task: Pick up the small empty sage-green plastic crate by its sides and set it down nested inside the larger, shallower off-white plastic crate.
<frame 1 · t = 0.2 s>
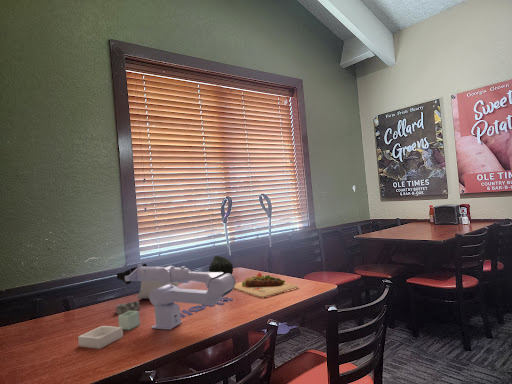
hand: (124, 273, 143), 21 cm above the table, tool horizontal, fingers open, 7 cm apart
green crate: (129, 327, 137), on the table
cutting board: (262, 289, 179), on the table
signage: (206, 307, 155), on the table
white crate: (101, 341, 124), on the table
cream block: (161, 295, 185), on the table
egg carton: (128, 311, 161), on the table
squash: (221, 278, 214), on the table
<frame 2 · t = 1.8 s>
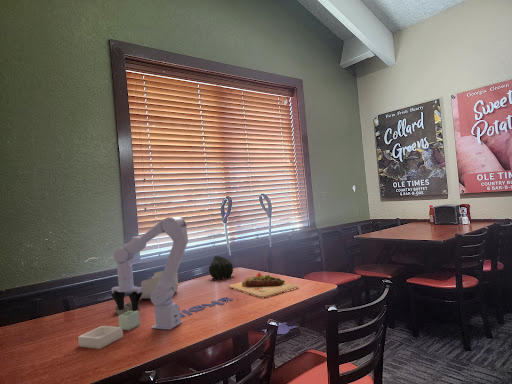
hand: (128, 310, 137), 7 cm above the table, tool pointing down, fingers open, 7 cm apart
nothing on the table moved.
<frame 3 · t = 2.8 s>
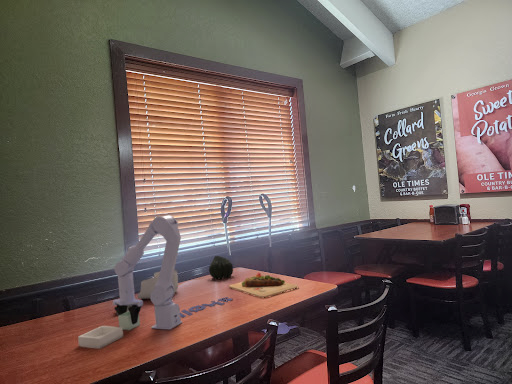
hand: (129, 323, 137), 2 cm above the table, tool pointing down, fingers closed on green crate, 5 cm apart
green crate: (129, 327, 137), on the table, touching gripper
everything else where it was.
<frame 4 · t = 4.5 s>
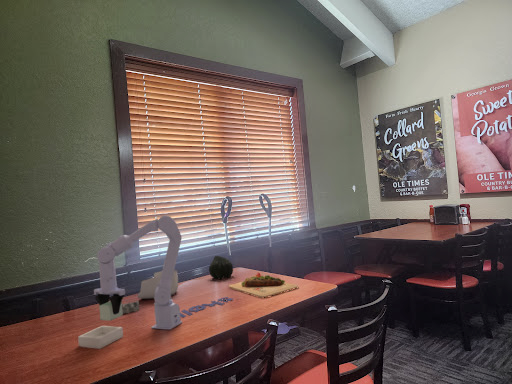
hand: (110, 313, 130), 8 cm above the table, tool pointing down, fingers closed on green crate, 5 cm apart
green crate: (111, 317, 130), point 7 cm above the table, touching gripper
everything else where it was.
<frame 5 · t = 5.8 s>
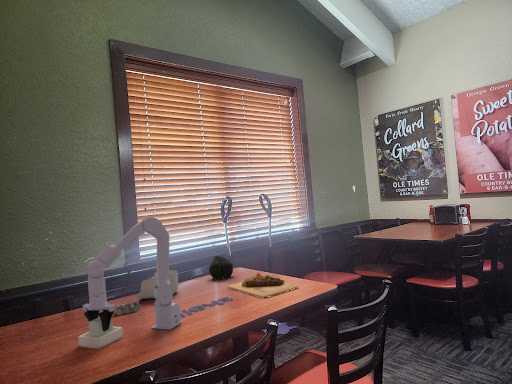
hand: (100, 329, 124), 4 cm above the table, tool pointing down, fingers closed on green crate, 5 cm apart
green crate: (101, 334, 125), point 2 cm above the table, touching gripper
everything else where it was.
when the fingers open (4 cm above the table, at t = 6.6 s): green crate drops 2 cm, resting on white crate.
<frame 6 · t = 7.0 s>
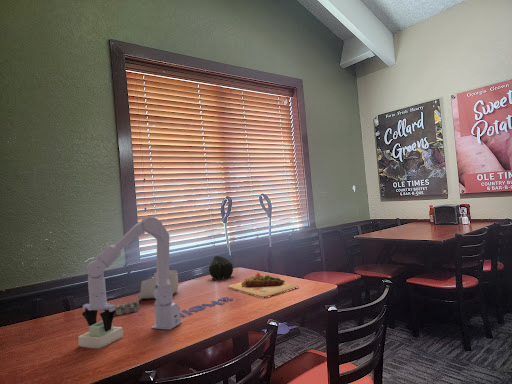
hand: (100, 329, 124), 4 cm above the table, tool pointing down, fingers open, 7 cm apart
green crate: (101, 338, 125), point 1 cm above the table, touching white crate
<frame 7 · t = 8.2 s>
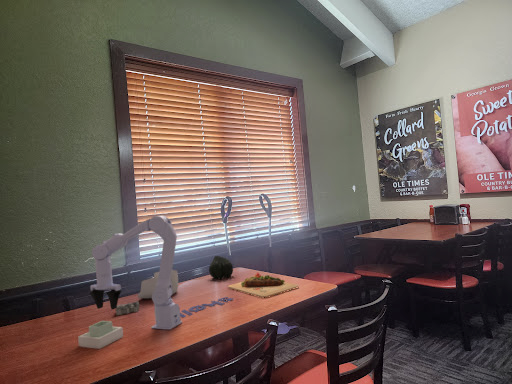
hand: (107, 308, 134), 9 cm above the table, tool pointing down, fingers open, 7 cm apart
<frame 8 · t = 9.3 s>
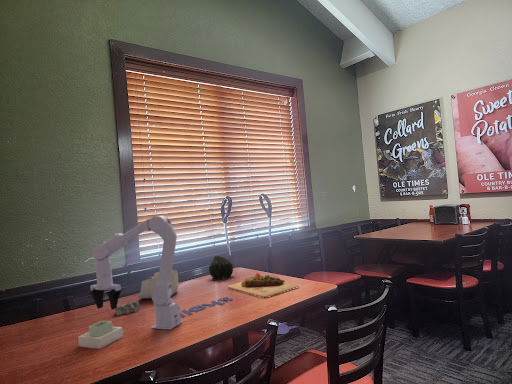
hand: (107, 308, 134), 9 cm above the table, tool pointing down, fingers open, 7 cm apart
at the end: green crate 0.2 cm off-centre on the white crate, point 0.8 cm above the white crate's base; green crate tilted 0°; the gripper is holding nothing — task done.
